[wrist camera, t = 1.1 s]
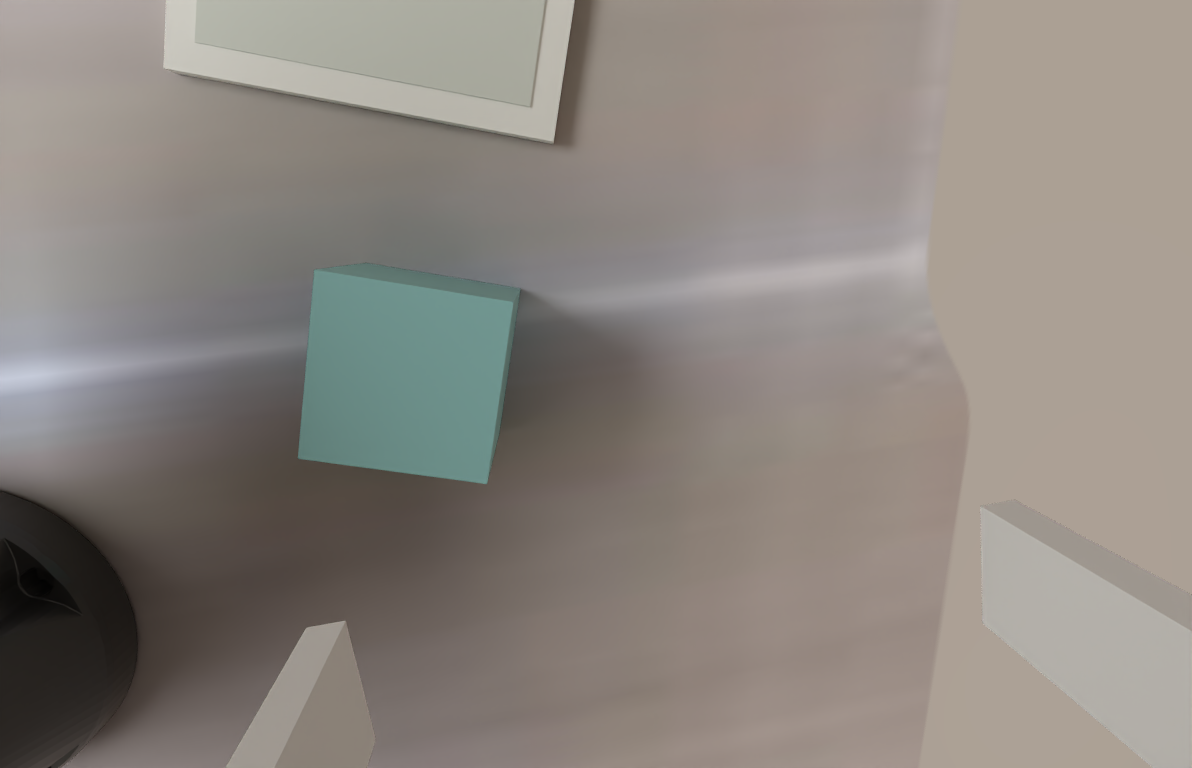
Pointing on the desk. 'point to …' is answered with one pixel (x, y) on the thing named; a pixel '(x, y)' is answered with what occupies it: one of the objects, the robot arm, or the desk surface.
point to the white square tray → (387, 55)
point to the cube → (406, 371)
